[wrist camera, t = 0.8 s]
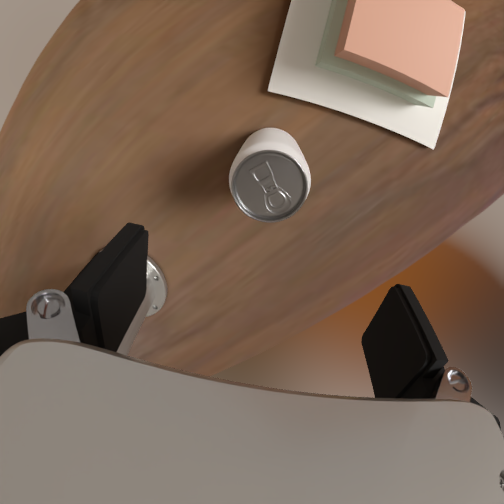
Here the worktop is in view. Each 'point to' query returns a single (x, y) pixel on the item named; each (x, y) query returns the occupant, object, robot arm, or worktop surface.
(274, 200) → the can
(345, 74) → the tiered block pedestal
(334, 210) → the worktop surface
